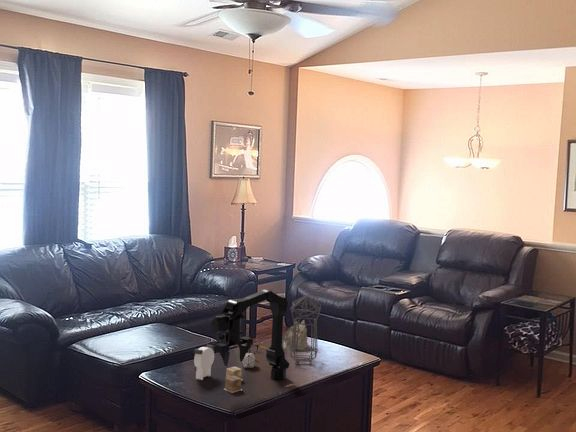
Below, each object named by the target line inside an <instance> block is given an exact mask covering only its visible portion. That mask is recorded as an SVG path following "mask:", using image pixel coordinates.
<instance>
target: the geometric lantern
mask: <svg viewBox="0 0 576 432" xmlns="http://www.w3.org/2000/svg"><path fill="white" fill-rule="evenodd" d="M308 302H309V303H308ZM291 304H292V305H291V307H290V308H289V310H290V312H291V317H292V322H293V335H294V339H295V341H294V339H293V335H292V343H291V350H290V355H289V356H290V358H292V359H293V360H294V365H299V366H300V365H303V366H304V365H305V366H310V365H312V362H313V360H315V359H317V355H318V322H317V321H318V318H319V316H320V314H321V309H322V303H320V302H319V301H316V300H315V299H314V298H311V297H310V296H308V295H303V296H301V297H300V298H298V299H295V300H294V301H292V302H291ZM308 305H309V308H308ZM297 306H299V307H301V308H300V309H299V308H298V309H297V308H296V307H297ZM312 306H313V307H312ZM313 309H315V310H313ZM303 313H305V315H302V314H303ZM307 313H308V314H307ZM316 313H317V315H316V317H315V315H314V314H316ZM294 314H295V318H294ZM297 315H299V316H297ZM309 316H313V317H314V318H313V324H312V322H311V320H312V318H311V317H310V318H309ZM301 319H303V320H308V322H309V323H305V324H301V323H300V320H301ZM296 322H298V332H299V323H300V324H301V325H306V326H311V328H310V329H311V332H310V334H311V335H310V336H311V337H310V338H311V341H310V343H311V346H310V347H311V349H307V348H305V349H297V344H298V332H297V343H296V349H295V342H296V324H297V323H296ZM294 326H295V330H294ZM292 344H293V348H294V349H293V348H292ZM298 351H309V352H310V355H308V357H307V355H302V354H301V355H300V354H298ZM313 352H314V353H313ZM292 354H293V355H292ZM313 356H314V357H313ZM303 361H305V362H309V363H299V362H303Z"/></svg>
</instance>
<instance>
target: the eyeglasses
mask: <svg viewBox="0 0 576 432" xmlns="http://www.w3.org/2000/svg"><path fill="white" fill-rule="evenodd" d="M250 346H251V347H250V348H249V350H248V351H247V353H252V352H251V348H252V347H256V351H255V353H256V352H258V348H262V349H265V350H267V349H269V348H267V347H265V346H262V345H259V344H255V345H254V344H253V345H250ZM255 358H256V360H257V361H258V362H257V363H260V361H259V360H258V358H257V357H256V356H255Z"/></svg>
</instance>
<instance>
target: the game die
mask: <svg viewBox="0 0 576 432" xmlns="http://www.w3.org/2000/svg"><path fill="white" fill-rule="evenodd" d="M255 354H256V351H255V352H251V353H250V352H248V353H246V355H245V357H244V359H243V361H242V362H241V364H242V365H243V368H244V369H245V368H246V369H254V367H255V366H256V363H259V362H258V361H259V360H258V359H257V360H258V361H257V360H256V358H257V357H256V356H255ZM255 357H256V358H255Z"/></svg>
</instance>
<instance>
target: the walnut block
mask: <svg viewBox="0 0 576 432" xmlns="http://www.w3.org/2000/svg"><path fill="white" fill-rule="evenodd" d="M241 379H242V377H241V378H239V377H237V376H231V377H227V378H226V377H225V379H224V381H225V382H224V390H225V389H226V390H225V391H227V390H229V391H231V392H233V393H235V392H234V391H236V392H239V391H238V390H240V391H242V390H241V389H242V380H241ZM229 391H228V392H229ZM231 392H230V393H231Z"/></svg>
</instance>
